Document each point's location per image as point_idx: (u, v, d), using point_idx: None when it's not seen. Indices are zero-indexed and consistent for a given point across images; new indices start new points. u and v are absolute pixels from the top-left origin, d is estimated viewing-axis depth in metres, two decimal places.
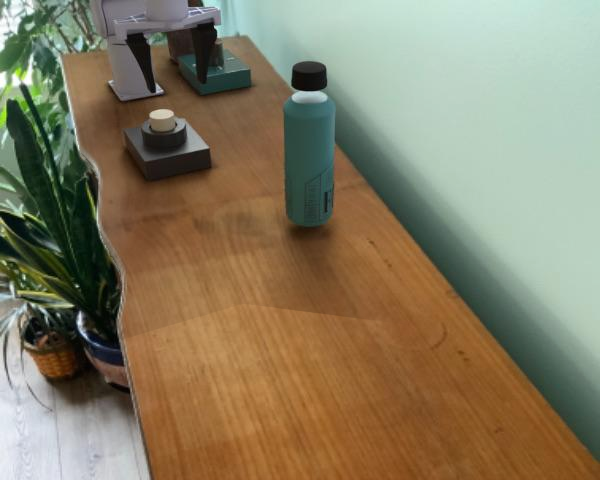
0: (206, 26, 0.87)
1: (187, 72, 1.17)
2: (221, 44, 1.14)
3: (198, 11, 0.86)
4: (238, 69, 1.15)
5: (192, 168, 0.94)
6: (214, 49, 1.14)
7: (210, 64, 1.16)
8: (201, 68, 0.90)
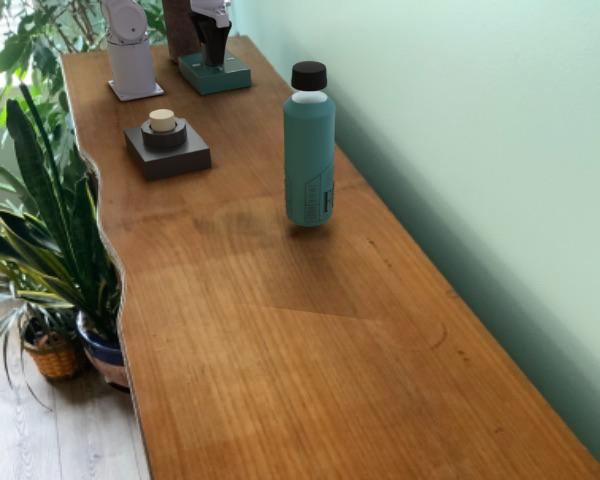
0: None
1: (187, 72, 1.17)
2: None
3: None
4: (238, 69, 1.15)
5: (192, 168, 0.94)
6: None
7: (210, 64, 1.16)
8: None
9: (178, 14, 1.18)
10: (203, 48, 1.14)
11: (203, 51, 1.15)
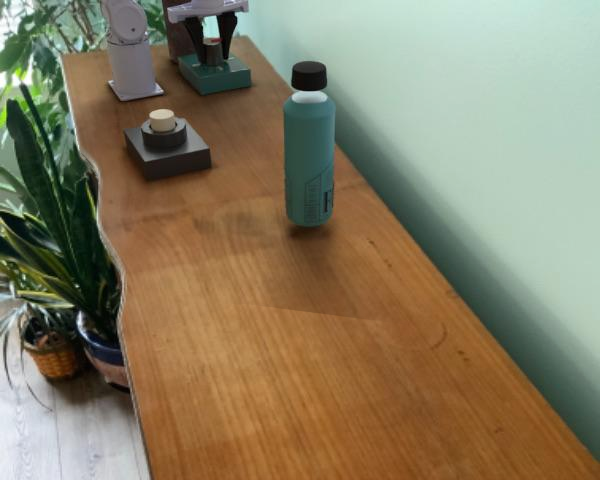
0: None
1: (187, 72, 1.17)
2: None
3: (184, 7, 1.09)
4: (238, 69, 1.15)
5: (192, 168, 0.94)
6: (222, 45, 1.16)
7: (223, 61, 1.17)
8: None
9: None
10: (218, 48, 1.14)
11: (218, 51, 1.15)
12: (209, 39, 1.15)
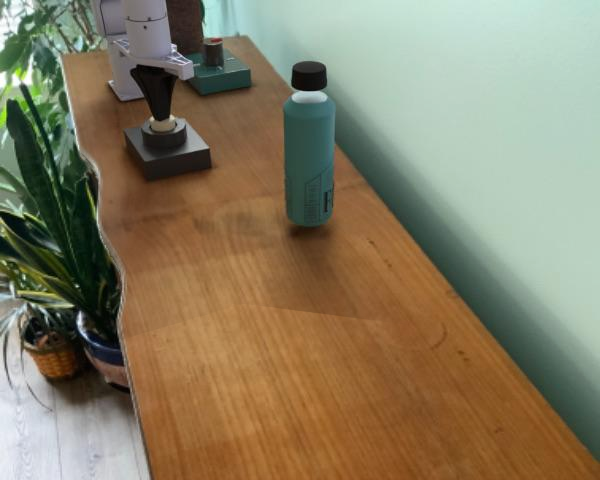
0: None
1: None
2: None
3: None
4: (238, 69, 1.15)
5: (192, 168, 0.94)
6: (222, 45, 1.16)
7: (223, 61, 1.17)
8: None
9: (178, 14, 1.18)
10: (218, 48, 1.14)
11: (218, 51, 1.15)
12: (209, 39, 1.15)
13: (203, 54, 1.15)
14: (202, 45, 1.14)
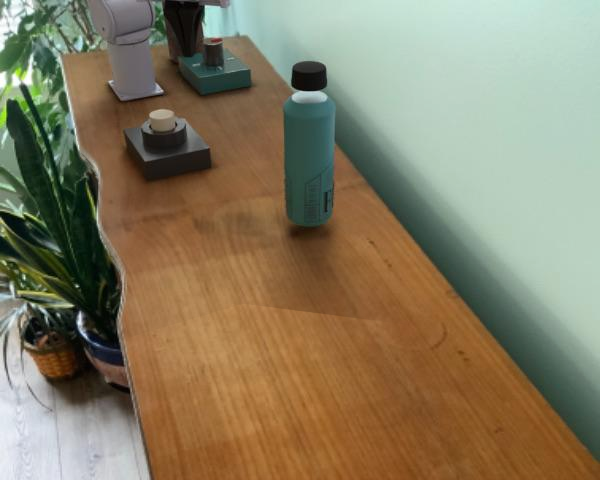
0: None
1: (187, 72, 1.17)
2: None
3: None
4: (238, 69, 1.15)
5: (192, 168, 0.94)
6: (222, 45, 1.16)
7: (223, 61, 1.17)
8: None
9: None
10: (218, 48, 1.14)
11: (218, 51, 1.15)
12: (209, 39, 1.15)
13: (203, 54, 1.15)
14: (202, 45, 1.14)
